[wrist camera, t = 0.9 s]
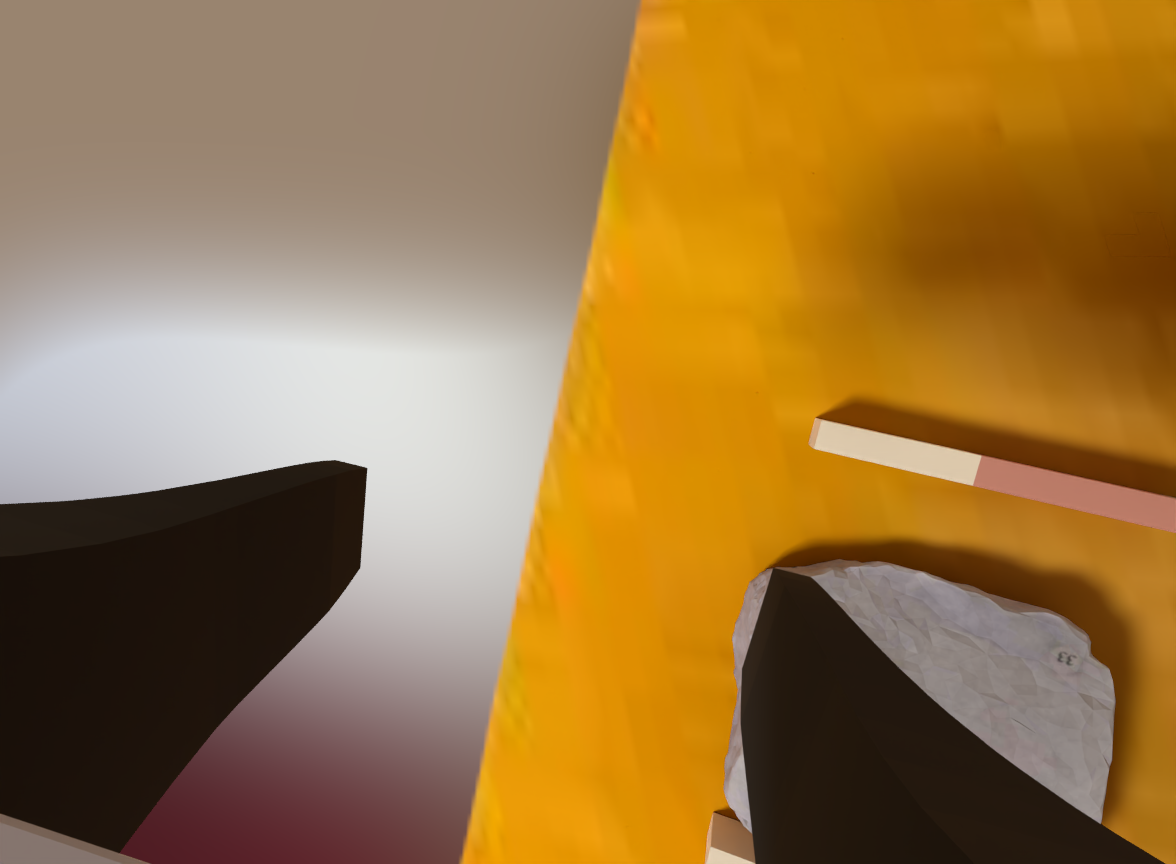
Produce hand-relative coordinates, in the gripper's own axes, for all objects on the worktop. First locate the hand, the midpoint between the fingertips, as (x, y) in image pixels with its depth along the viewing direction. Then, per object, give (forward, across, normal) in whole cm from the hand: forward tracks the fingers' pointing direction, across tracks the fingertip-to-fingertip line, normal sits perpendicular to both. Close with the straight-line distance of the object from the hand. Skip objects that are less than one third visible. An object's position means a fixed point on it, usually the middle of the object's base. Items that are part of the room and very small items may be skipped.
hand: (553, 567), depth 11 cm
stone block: (+12, -12, +9) cm, 19 cm away
